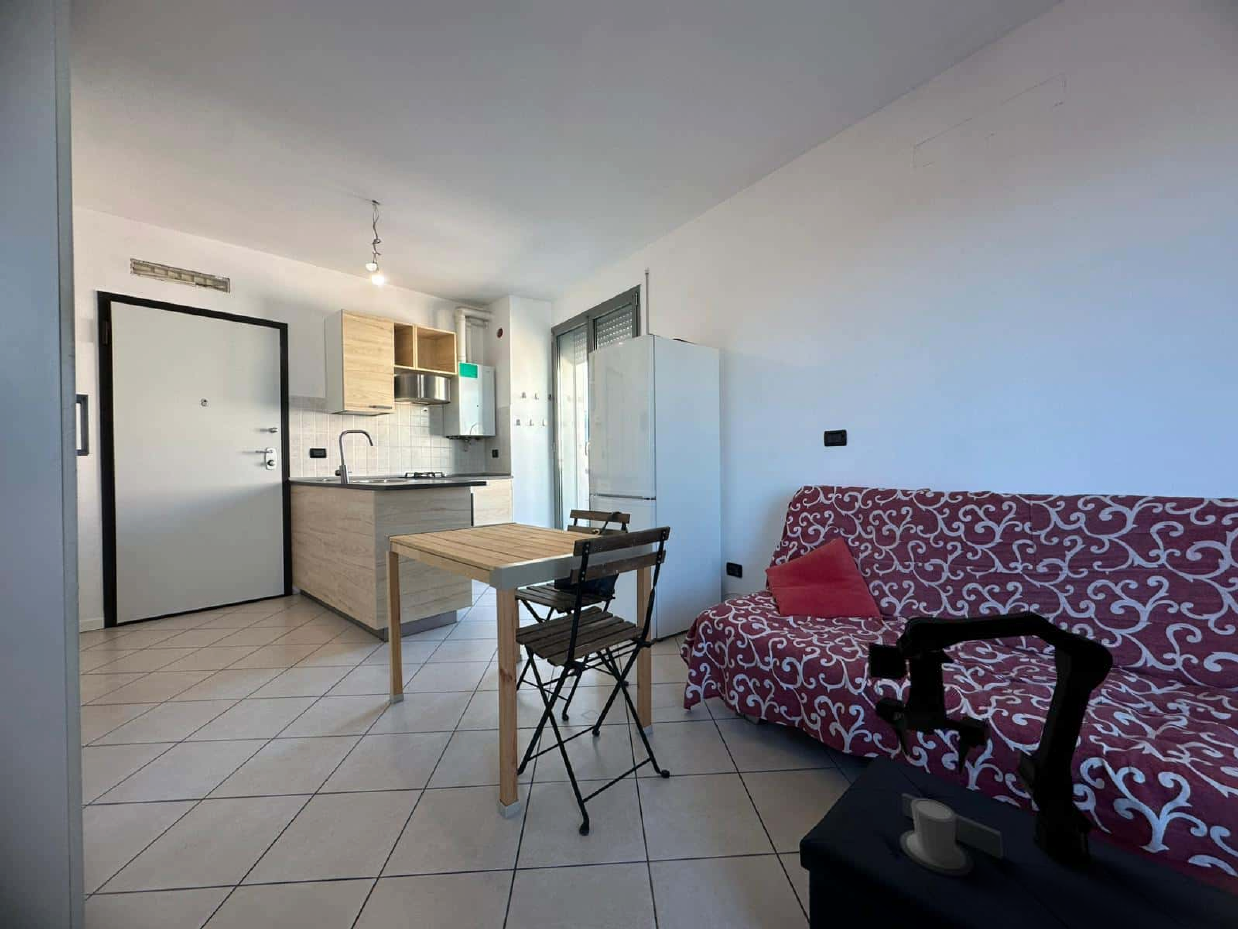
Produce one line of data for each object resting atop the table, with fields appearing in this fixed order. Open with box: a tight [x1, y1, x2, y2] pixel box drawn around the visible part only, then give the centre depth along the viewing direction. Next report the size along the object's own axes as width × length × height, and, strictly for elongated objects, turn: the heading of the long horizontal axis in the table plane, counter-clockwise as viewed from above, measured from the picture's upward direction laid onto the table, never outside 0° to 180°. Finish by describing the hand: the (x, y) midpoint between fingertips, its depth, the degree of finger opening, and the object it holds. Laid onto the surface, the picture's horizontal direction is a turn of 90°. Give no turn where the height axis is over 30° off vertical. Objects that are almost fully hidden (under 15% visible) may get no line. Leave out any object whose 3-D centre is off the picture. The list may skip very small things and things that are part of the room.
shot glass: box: [911, 797, 956, 861], centre depth 86 cm, size 7×7×7 cm
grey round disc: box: [899, 829, 974, 877], centre depth 86 cm, size 11×11×1 cm
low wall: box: [901, 792, 1004, 860], centre depth 91 cm, size 16×1×4 cm, turn 40°
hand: (933, 763), depth 94 cm, fingers open, 9 cm apart
